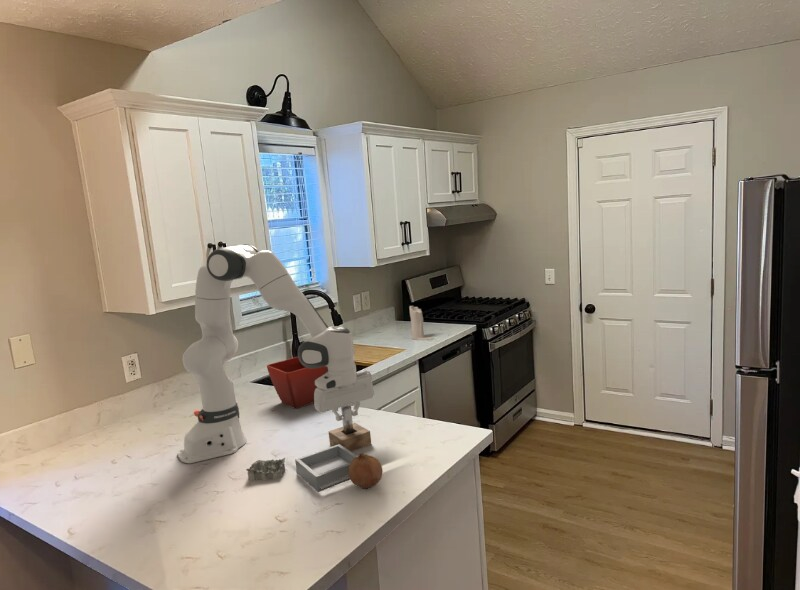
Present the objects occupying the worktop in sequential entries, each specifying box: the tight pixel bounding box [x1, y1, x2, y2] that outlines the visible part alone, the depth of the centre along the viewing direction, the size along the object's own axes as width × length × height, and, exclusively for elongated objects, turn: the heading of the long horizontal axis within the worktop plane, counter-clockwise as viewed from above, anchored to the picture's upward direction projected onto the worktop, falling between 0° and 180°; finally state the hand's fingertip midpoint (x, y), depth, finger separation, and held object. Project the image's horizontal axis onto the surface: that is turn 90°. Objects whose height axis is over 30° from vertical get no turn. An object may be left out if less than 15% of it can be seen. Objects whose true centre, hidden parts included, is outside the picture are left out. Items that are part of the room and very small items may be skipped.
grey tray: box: [294, 444, 358, 493], centre depth 160 cm, size 15×15×4 cm
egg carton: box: [246, 457, 286, 482], centre depth 164 cm, size 11×8×4 cm
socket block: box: [328, 422, 372, 453], centre depth 176 cm, size 10×10×6 cm
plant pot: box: [266, 356, 328, 409], centre depth 226 cm, size 19×19×17 cm
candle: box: [409, 305, 435, 341], centre depth 319 cm, size 7×14×20 cm, turn 59°
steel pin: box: [340, 402, 354, 435], centre depth 175 cm, size 5×5×12 cm
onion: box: [348, 452, 384, 490], centre depth 150 cm, size 10×9×10 cm
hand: (347, 417), depth 175 cm, fingers closed on steel pin, 4 cm apart
